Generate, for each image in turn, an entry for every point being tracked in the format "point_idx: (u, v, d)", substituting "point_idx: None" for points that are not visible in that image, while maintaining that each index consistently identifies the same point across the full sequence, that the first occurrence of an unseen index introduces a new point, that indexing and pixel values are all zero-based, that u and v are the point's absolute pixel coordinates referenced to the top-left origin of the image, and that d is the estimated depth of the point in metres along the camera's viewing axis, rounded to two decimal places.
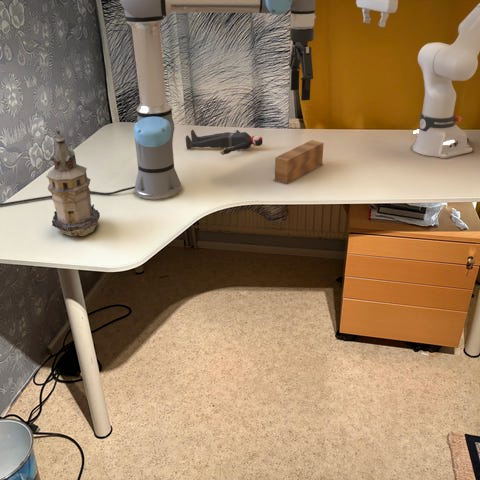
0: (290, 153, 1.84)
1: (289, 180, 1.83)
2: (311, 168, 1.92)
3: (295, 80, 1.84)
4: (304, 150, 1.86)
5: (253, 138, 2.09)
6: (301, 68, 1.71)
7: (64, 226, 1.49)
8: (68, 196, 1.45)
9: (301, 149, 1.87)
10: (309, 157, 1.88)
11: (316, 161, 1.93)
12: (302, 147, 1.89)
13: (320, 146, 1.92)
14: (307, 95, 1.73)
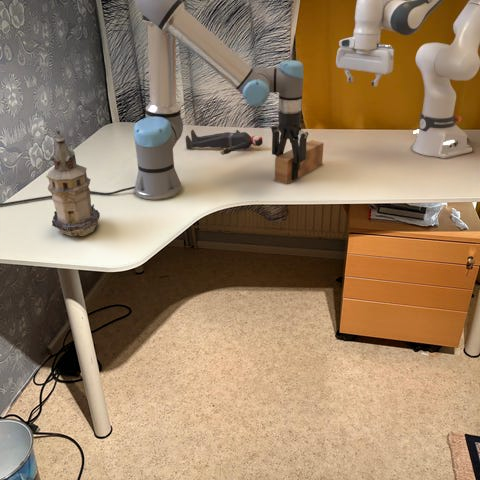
0: (290, 153, 1.84)
1: (289, 180, 1.83)
2: (311, 168, 1.92)
3: None
4: None
5: (253, 138, 2.09)
6: (292, 150, 1.79)
7: (64, 226, 1.49)
8: (68, 196, 1.45)
9: None
10: (309, 157, 1.88)
11: (316, 161, 1.93)
12: None
13: (320, 146, 1.92)
14: (296, 174, 1.84)
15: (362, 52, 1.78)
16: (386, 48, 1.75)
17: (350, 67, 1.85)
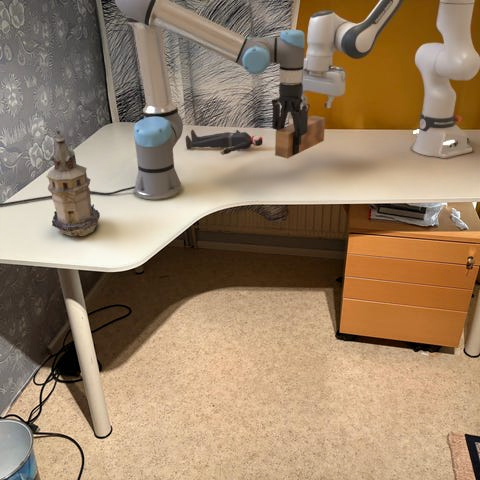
0: (291, 127, 1.79)
1: (290, 155, 1.78)
2: (312, 144, 1.87)
3: None
4: None
5: (253, 138, 2.09)
6: (293, 123, 1.74)
7: (64, 226, 1.49)
8: (68, 196, 1.45)
9: None
10: (310, 132, 1.84)
11: (318, 137, 1.88)
12: None
13: (322, 121, 1.87)
14: (297, 149, 1.79)
15: (314, 74, 1.77)
16: (338, 70, 1.74)
17: (303, 88, 1.83)
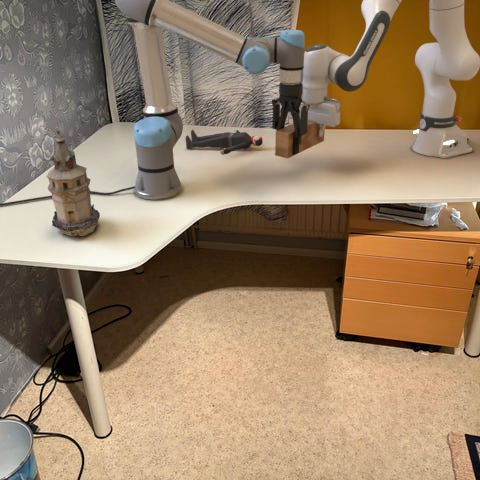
0: (291, 127, 1.79)
1: (290, 155, 1.78)
2: (312, 144, 1.87)
3: None
4: None
5: (253, 138, 2.09)
6: (293, 123, 1.74)
7: (64, 226, 1.49)
8: (68, 196, 1.45)
9: None
10: (310, 132, 1.84)
11: (318, 137, 1.88)
12: None
13: None
14: (297, 149, 1.79)
15: (310, 105, 1.82)
16: (332, 102, 1.79)
17: None
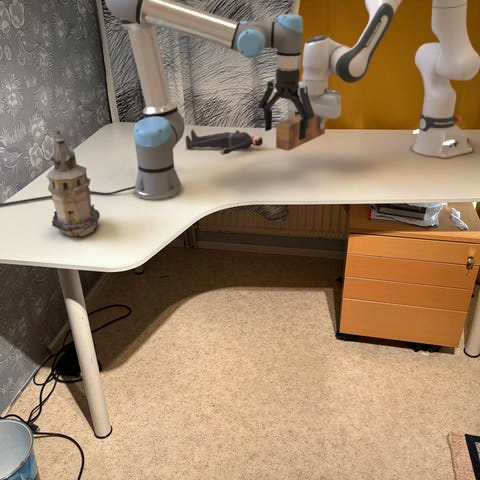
0: (292, 119, 1.78)
1: (291, 147, 1.77)
2: (313, 136, 1.86)
3: (269, 120, 1.79)
4: None
5: (253, 138, 2.09)
6: None
7: (64, 226, 1.49)
8: (68, 196, 1.45)
9: None
10: (311, 124, 1.82)
11: (319, 129, 1.87)
12: None
13: None
14: (304, 134, 1.73)
15: (310, 97, 1.80)
16: (333, 94, 1.77)
17: None
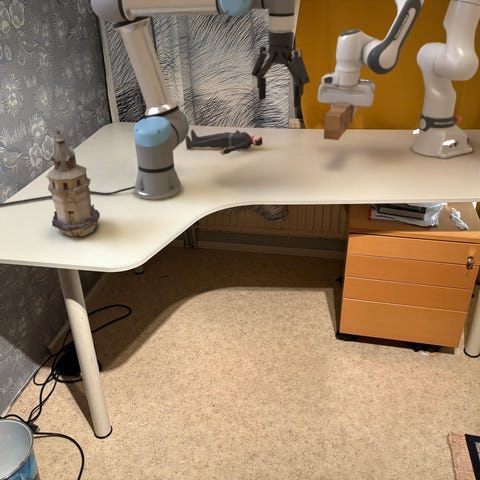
0: (335, 110, 1.86)
1: (339, 136, 1.85)
2: (348, 125, 1.96)
3: (263, 89, 1.71)
4: (345, 107, 1.90)
5: (253, 138, 2.09)
6: (291, 73, 1.60)
7: (64, 226, 1.49)
8: (68, 196, 1.45)
9: (341, 106, 1.91)
10: (348, 113, 1.92)
11: (350, 118, 1.98)
12: (340, 104, 1.92)
13: None
14: (299, 101, 1.64)
15: (346, 88, 1.90)
16: (368, 83, 1.89)
17: (332, 101, 1.96)
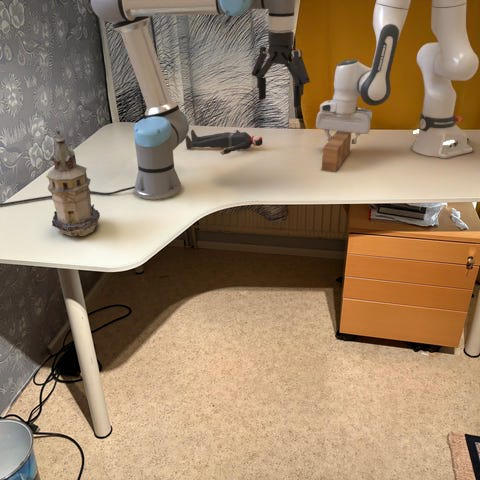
0: (333, 142, 1.93)
1: (336, 168, 1.91)
2: (345, 155, 2.02)
3: (263, 89, 1.71)
4: (342, 138, 1.96)
5: (253, 138, 2.09)
6: (291, 73, 1.60)
7: (64, 226, 1.49)
8: (68, 196, 1.45)
9: (338, 138, 1.97)
10: (345, 145, 1.99)
11: (348, 148, 2.04)
12: (338, 136, 1.98)
13: (350, 134, 2.03)
14: (299, 101, 1.64)
15: (343, 115, 1.95)
16: (365, 111, 1.94)
17: (330, 128, 2.01)
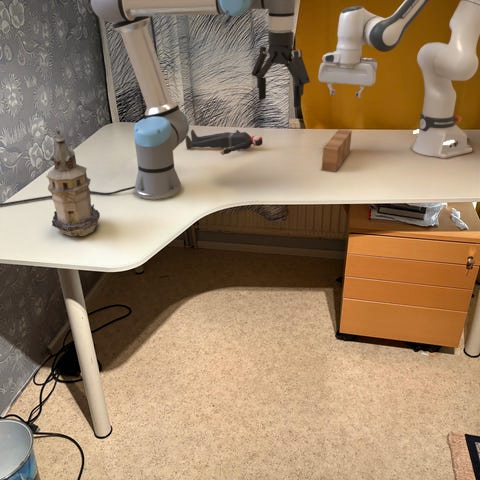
0: (333, 142, 1.93)
1: (336, 168, 1.91)
2: (345, 155, 2.02)
3: (263, 89, 1.71)
4: (342, 138, 1.96)
5: (253, 138, 2.09)
6: (291, 73, 1.60)
7: (64, 226, 1.49)
8: (68, 196, 1.45)
9: (338, 138, 1.97)
10: (345, 145, 1.99)
11: (348, 148, 2.04)
12: (338, 136, 1.98)
13: (350, 134, 2.03)
14: (299, 101, 1.64)
15: (347, 66, 1.87)
16: (370, 61, 1.85)
17: (334, 81, 1.92)
